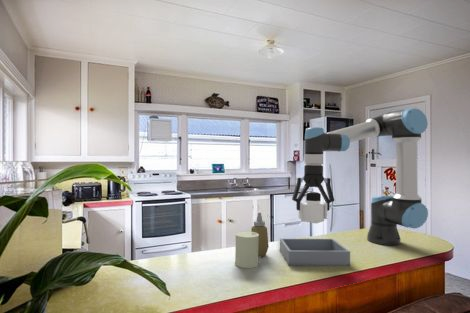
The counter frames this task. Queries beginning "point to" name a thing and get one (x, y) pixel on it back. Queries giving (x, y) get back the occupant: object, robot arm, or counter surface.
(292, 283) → the counter surface
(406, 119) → the robot arm
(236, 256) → the can
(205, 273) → the counter surface
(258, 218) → the squeeze bottle
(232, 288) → the counter surface
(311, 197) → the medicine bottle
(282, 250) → the grey box
